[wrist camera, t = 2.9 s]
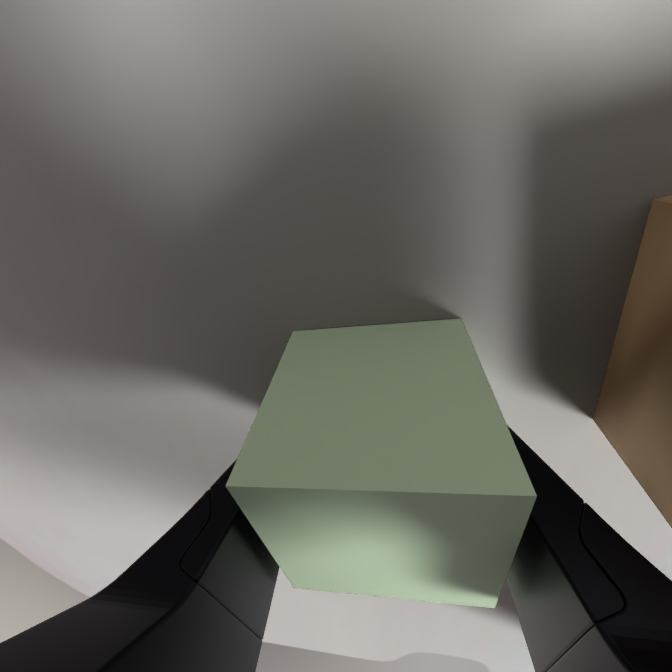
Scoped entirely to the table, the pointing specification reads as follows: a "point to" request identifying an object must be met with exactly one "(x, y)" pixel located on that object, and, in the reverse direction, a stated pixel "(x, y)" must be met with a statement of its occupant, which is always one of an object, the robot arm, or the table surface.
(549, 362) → the table surface
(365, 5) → the table surface
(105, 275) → the table surface
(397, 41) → the table surface
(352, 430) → the sage block
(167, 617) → the robot arm
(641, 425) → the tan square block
